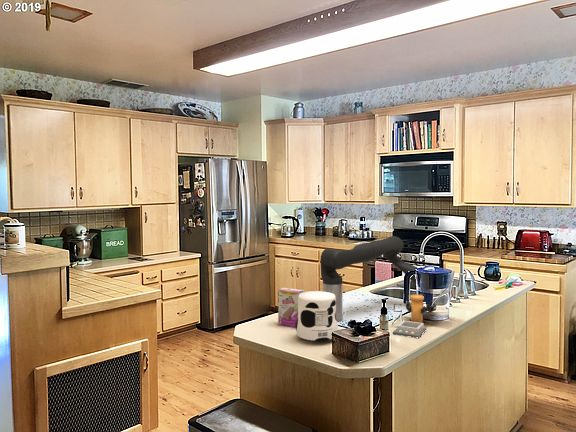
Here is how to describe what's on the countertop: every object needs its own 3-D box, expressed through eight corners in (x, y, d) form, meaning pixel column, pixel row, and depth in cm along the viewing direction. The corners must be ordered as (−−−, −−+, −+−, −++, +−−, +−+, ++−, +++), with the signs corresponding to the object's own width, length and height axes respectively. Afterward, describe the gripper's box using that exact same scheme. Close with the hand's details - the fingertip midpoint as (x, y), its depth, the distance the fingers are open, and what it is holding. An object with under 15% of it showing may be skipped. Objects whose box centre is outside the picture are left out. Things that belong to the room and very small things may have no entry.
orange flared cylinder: (408, 326, 209) (408, 296, 208) (411, 323, 214) (412, 293, 214) (421, 328, 206) (422, 298, 205) (425, 324, 211) (425, 295, 211)
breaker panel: (392, 334, 199) (392, 327, 198) (401, 326, 209) (401, 320, 209) (418, 338, 193) (418, 331, 193) (426, 330, 203) (426, 323, 203)
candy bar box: (277, 325, 212) (277, 289, 211) (283, 322, 217) (283, 287, 215) (299, 328, 207) (299, 292, 205) (304, 325, 211) (304, 289, 210)
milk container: (312, 329, 206) (312, 288, 205) (346, 337, 195) (346, 294, 194) (287, 339, 193) (287, 296, 191) (321, 348, 182) (321, 302, 180)
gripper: (410, 292, 226) (399, 300, 211) (440, 296, 218) (432, 304, 204) (410, 308, 226) (399, 316, 211) (440, 312, 219) (431, 321, 204)
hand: (415, 310), depth 208 cm, fingers closed on orange flared cylinder, 5 cm apart
